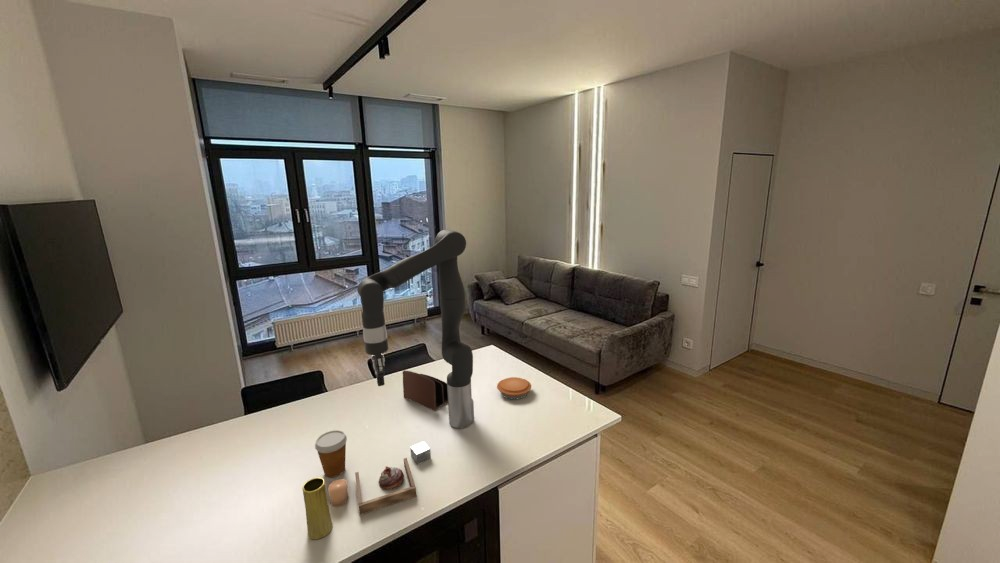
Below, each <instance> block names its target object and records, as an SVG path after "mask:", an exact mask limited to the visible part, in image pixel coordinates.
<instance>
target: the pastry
mask: <svg viewBox="0 0 1000 563" xmlns="http://www.w3.org/2000/svg"><path fill="white" fill-rule="evenodd" d="M384 468H385V469H384V470H383V471H381V473H380V476H379V479H378V486H379V487H380V488H381V489H382V490H385V491H386V490H387V491H389V490H390V491H391V490H395V489H398V488H399V487H400V485H401V484H402V483H403V481H404V477H405V474H404V472H403V470H402V469H401V468H398V467H392V466H388V465H386V466H384Z"/></svg>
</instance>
